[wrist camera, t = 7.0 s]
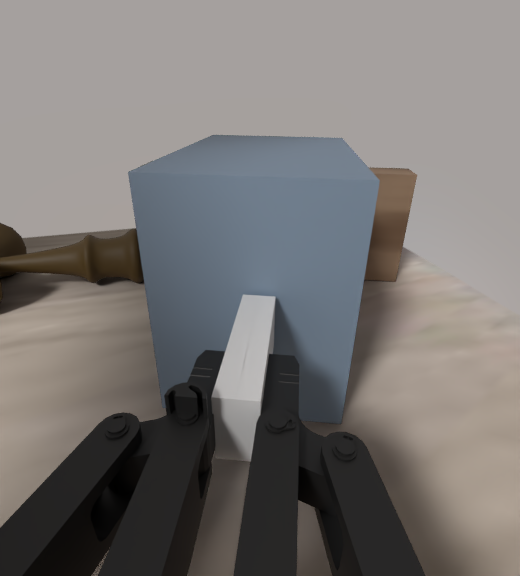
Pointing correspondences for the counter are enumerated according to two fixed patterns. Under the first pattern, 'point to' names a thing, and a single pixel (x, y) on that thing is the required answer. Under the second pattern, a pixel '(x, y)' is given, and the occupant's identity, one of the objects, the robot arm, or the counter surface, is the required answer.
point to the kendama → (74, 257)
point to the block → (257, 253)
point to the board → (389, 222)
